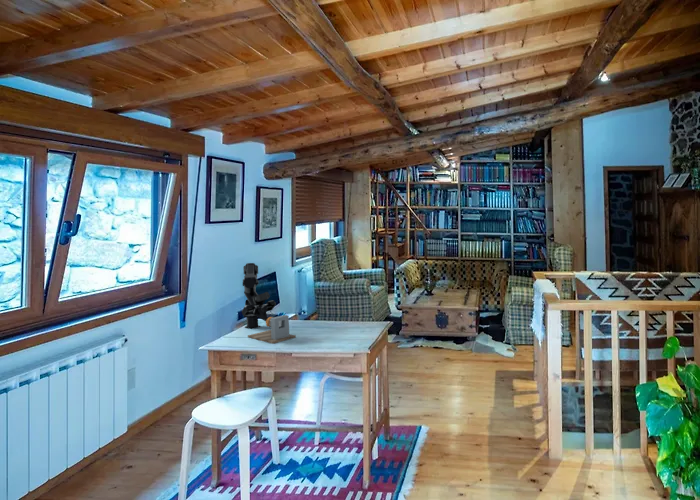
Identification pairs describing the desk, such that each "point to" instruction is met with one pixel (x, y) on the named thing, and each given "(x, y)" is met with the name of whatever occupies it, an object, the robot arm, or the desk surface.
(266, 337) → the walnut board
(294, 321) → the desk surface
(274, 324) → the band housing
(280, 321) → the gold rounded piece
